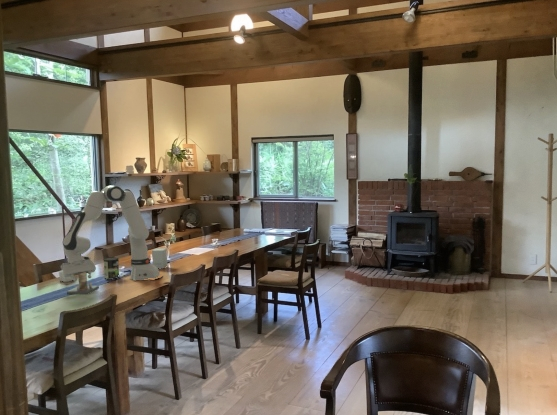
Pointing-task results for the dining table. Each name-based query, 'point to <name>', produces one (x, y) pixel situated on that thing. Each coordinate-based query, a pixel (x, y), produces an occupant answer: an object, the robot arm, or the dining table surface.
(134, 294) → the dining table surface
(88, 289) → the pin board
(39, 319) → the dining table surface
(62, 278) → the medicine bottle
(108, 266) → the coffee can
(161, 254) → the supplement box
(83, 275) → the birch peg
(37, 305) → the dining table surface
